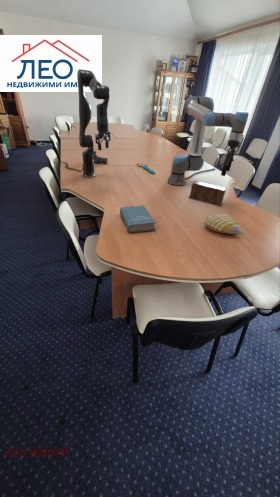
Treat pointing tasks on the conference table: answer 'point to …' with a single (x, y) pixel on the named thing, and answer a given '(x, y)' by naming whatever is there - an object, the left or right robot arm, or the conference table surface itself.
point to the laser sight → (99, 159)
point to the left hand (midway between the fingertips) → (103, 149)
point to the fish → (223, 224)
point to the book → (137, 219)
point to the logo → (145, 167)
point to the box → (207, 193)
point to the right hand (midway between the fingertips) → (225, 173)
